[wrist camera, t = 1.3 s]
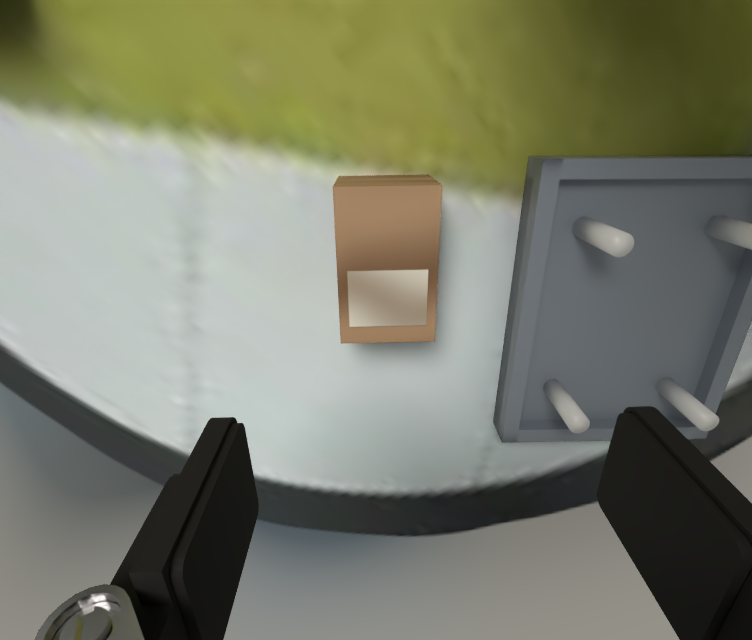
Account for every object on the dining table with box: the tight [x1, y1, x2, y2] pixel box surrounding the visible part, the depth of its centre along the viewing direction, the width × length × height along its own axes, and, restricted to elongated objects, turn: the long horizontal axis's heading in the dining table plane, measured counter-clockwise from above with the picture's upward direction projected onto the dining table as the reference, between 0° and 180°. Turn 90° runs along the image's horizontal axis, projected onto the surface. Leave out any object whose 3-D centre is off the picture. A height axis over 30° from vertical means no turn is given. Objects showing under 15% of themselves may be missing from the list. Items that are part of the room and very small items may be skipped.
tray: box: [493, 155, 752, 442], centre depth 25 cm, size 18×14×5 cm
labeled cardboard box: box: [333, 175, 442, 343], centre depth 24 cm, size 8×5×5 cm, turn 1°
